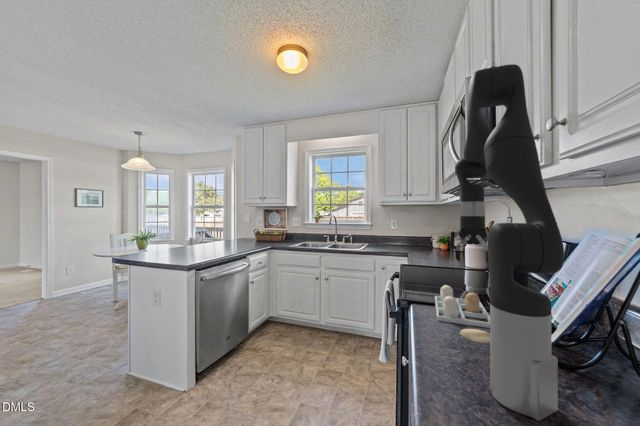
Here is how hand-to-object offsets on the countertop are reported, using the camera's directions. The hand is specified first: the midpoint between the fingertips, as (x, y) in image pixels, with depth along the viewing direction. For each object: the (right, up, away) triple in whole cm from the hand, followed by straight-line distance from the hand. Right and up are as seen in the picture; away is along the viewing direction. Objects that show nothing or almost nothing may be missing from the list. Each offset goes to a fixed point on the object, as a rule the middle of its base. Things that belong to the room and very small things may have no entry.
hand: (472, 262), depth 91 cm
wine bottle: (+16, -19, +1) cm, 25 cm away
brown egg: (0, -18, +1) cm, 18 cm away
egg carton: (-3, -19, +2) cm, 19 cm away
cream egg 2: (-9, -18, -3) cm, 21 cm away
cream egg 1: (-4, -18, +11) cm, 22 cm away
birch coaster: (-8, -19, -16) cm, 26 cm away
